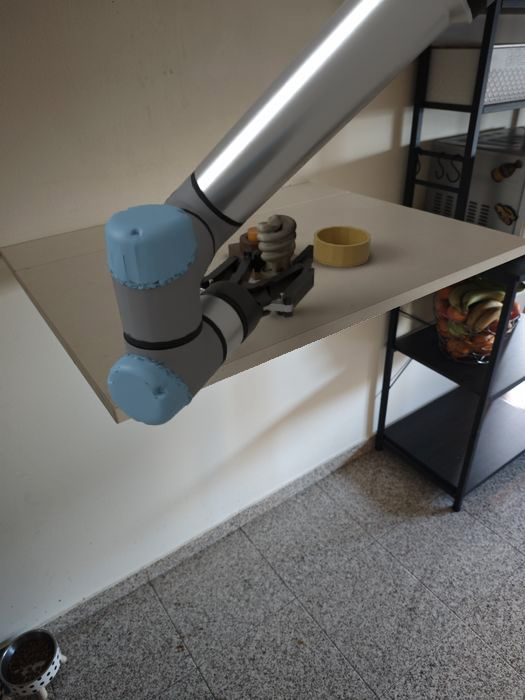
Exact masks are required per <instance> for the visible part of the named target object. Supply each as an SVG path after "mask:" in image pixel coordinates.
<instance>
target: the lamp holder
mask: <svg viewBox="0 0 525 700" xmlns="http://www.w3.org/2000/svg"><path fill="white" fill-rule="evenodd" d="M371 242H372V236H371V234H370V233H369V232H368V231H367V230H365V229H362V228H360V227H356V226H350V225H349V226H346V225H331V226H325V227H322V228H320V229H318V230H316V231H315V232H314V233H313V245H314V253H313V260H315V261H316V262H318V263H319V264H322V265H325V266H328V267H333V268H353V267H358V266H361V265H364V264H365V263H366V262H367V261H369V256H370V252H371Z"/></svg>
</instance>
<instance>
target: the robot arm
mask: <svg viewBox="0 0 525 700" xmlns="http://www.w3.org/2000/svg"><path fill="white" fill-rule="evenodd" d="M495 1H496V0H344V1H343V2H342V3H341V5H340V6H339V7H338V8H336V10H335V11H334V13H332V15H330V17H329V18H328V19H327V20H326V22H325V23H324V24H323V25H322V26H321V27H320V28H319V30H318V31H316V32H315V34H314V35H313V36H312V37H311V38H310V39H309V41H307V42H306V44H305V45H304V46H303V47H302V49H301V50H300V51H299V52H298V53H297V54H296V55H295V56H294V57H293V59H292V60H291V61H290V62H289V63H288V64H287V65H286V66H285V68H284V69H282V71H281V72H279V74H278V75H277V77H276V78H274V80H273V81H272V82H271V83H270V84H269V86H267V88H266V89H265V90H264V91H263V92H262V93H261V95H260V96H259V97H258V98H257V99H256V100H255V101H254V102H253V104H251V106H250V107H249V108H248V109H247V110H246V111H245V112H244V113H243V114H242V116H241V117H240V118H239V119H238V120H237V121H236V123H235V124H234V125H233V126H232V127H231V128H230V129H229V131H227V133H225V135H223V137H222V138H221V139H220V140H219V141H218V142H217V144H216V145H214V147H213V148H212V149H211V151H210V152H208V154H207V155H206V156H205V157H204V158H203V159H202V160H201V161H200V163H199V164H198V165H197V166H196V167H195V169H194V170H193V171H192V172H191V173H190V174H189V175H188V176H187V177H186V178H185V179H184V181H183V182H182V183H181V184H180V185H179V186H178V187H177V188H176V189H175V190H174V191H173V192H172V193H171V194H170V195H169V197H168V198H167V199H166V200H165V201H164V203H163V204H160V203H159V204H158V203H152V204H140V205H135V206H130V207H127V209H126V210H120V211H117V212H115V213H114V214H113V215H111V216H110V217H109V218H108V220H107V221H106V223H105V226H104V237H105V247H106V260H107V263H106V264H107V268H108V271H109V273H110V277H111V281H112V285H113V289H114V294H115V295H114V296H115V300H116V304H117V307H118V308H117V309H118V313H119V317H120V321H121V326H122V332H123V333H122V336H123V341H124V346H125V350H126V351H125V354H124V355H121V356H119V357H118V360H117V361H116V362H115V363H114V364H113V365H112V366H111V367H110V370H109V373H108V376H107V381H106V383H107V389H108V392H109V394H110V397H111V398H112V400H113V402H114V404H115V405H116V406H117V407H118V408H119V409H120V411H122V413H123V414H125V415H126V416H128V417H129V418H130V419H132V420H133V421H135V422H137V423H139V422H140V423H142V424H145V425H147V426H161V425H164V424H166V423H168V422H170V421H171V420H172V419H174V417H176V415H177V414H178V413H180V412H181V411H182V410H183V409H184V408H185V407H187V406H189V405H190V404H191V403H192V400H193V399H194V398H195V396H197V394H198V393H199V392H200V391H201V390H202V388H203V387H204V386H205V385H206V384H207V383H208V382H209V380H210V379H212V377H214V375H215V374H216V373H217V371H218V370H219V369H220V368H221V367H222V365H224V364H225V363H226V362H227V360H229V358H230V357H231V356H232V355H233V354H234V352H236V351H237V349H238V348H239V347H240V345H242V344H243V343H244V342H245V341H246V340H247V338H248V337H250V335H252V333H254V331H255V329H256V328H257V326H258V325H259V323H260V320H261V319H262V318H264V317H267V316H268V315H270V314H271V313H272V312H276V311H280V312H283V314H282V316H283V317H284V318H292V317H293V315H294V309H295V308H296V307H297V306H298V305H299V303H300V302H301V301H302V300H303V299H304V298H305V297H306V296H307V294H308V293H309V292H311V290H312V289H313V288H314V287H315V269H316V268H314V267H312V266H313V263H314V257H313V253H314V244H308V245H307V246H306V247H305V248H304V249H303V250H302V251H301V252H300V253H298V255H297V257H296V258H295V259H294V260H293V261H292V267H290V268H288V269H286V270H284V271H282V272H281V273H279V274H277V275H275V276H273V277H271V278H269V279H268V278H263V279H258V280H256V281H255V282H250V280H251V278H252V277H251V275H252V273H253V269H254V272H256V273H259V272H260V271H261V269H262V267H263V266H265V265H266V261H264V260H263V259H262V258H261V254H262V253H263V252H262V251H261V250H256V251H254V252H253V253H252V251H251V250H245V251H244V257H243V258H239V256H238V255H232V256H229V257H227V259H225V260H224V261H223V262H221V264H219V265H217V266H216V268H215V269H213V270H212V271H211V272H210V273H208V274H207V271H208V269H209V267H210V265H211V264H212V262H213V260H214V259H215V256H216V254H217V252H218V251H219V250H220V249H221V248H222V247H223V245H225V243H226V242H228V241H229V240H230V238H231V237H233V235H235V234H236V233H237V232H238V231H239V230H240V228H241V227H242V226H244V224H245V223H246V222H247V221H248V220H249V219H250V218H251V217H252V216H253V215H254V214H255V213H256V212H257V211H258V210H259V209H261V207H263V206H264V205H265V204H266V202H268V201H269V200H270V199H271V198H272V197H273V196H274V195H275V194H276V193H277V192H278V191H279V190H281V188H282V187H284V186H285V184H286V183H287V182H288V181H290V180H291V179H292V178H293V177H294V176H295V175H296V174H297V173H298V172H299V171H300V170H301V169H302V168H303V167H305V165H306V164H307V163H308V162H309V161H310V160H312V159H313V157H315V156H316V155H317V154H318V153H319V152H320V151H321V150H322V149H323V148H324V147H325V146H326V145H327V144H328V143H330V141H332V139H334V137H335V136H337V135H338V134H339V132H340V131H342V130H343V129H344V128H345V127H346V126H347V125H348V124H349V123H350V122H351V121H352V120H353V119H355V117H356V116H357V115H358V114H359V113H360V112H362V110H364V109H365V107H367V106H368V105H369V104H370V103H371V102H372V101H373V100H374V99H375V98H376V97H377V96H378V95H379V94H380V93H381V92H382V91H383V90H385V88H387V86H389V85H390V84H391V83H392V82H393V81H394V80H395V79H396V78H397V77H398V76H399V75H400V74H401V73H402V72H403V71H404V70H405V69H406V68H407V67H408V66H410V65H411V64H412V62H414V61H415V60H416V59H417V58H418V57H419V56H420V55H421V54H422V53H423V52H424V51H425V50H426V49H427V48H428V47H429V46H431V44H433V42H435V41H436V40H437V39H438V37H440V36H441V35H443V33H444V32H445V31H446V30H447V29H448V28H450V27H453V26H468V25H470V24H471V23H472V22H473V21H474V20H476V18H477V17H478V16H479V15H480V14H481V13H483V12H484V11H485V9H487V8H488V7H489V6H490V5H491V4H493V3H494V2H495ZM206 274H207V275H206ZM279 296H280V297H279ZM277 297H279V298H277ZM275 298H277V299H276V300H274V299H275Z"/></svg>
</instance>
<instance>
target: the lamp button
mask: <svg viewBox="0 0 525 700" xmlns="http://www.w3.org/2000/svg"><path fill="white" fill-rule="evenodd" d="M246 232H247V233H248V240H250V241H259V240H258V238H257V234H258V233H259V232H258V231H257V229H256V226H251V227H248V228H247V230H246Z"/></svg>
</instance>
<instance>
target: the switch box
mask: <svg viewBox="0 0 525 700" xmlns="http://www.w3.org/2000/svg"><path fill="white" fill-rule="evenodd" d="M238 240H239V241H238V242H234V243H228V244H227V247H228V250H227V251H228V256H229V257H230V256H232V255H238V256H239V258H243V257H244V251H245V250H251V251H252V253H253V252H254V251H256V250H260V249H259V243H260V242H261V241H250V240H248V233H247V231H246V232H244V233H242V234H240V236H239V239H238ZM297 256H298V255H297V254H296V253H295V252H294V254H293V256H292V257H291V259H290V264H292V261H293V260H294V259H295V258H296V257H297ZM251 278H252V279H253V280H254V281H258V280H261V271H260V272H259V273H256V272H254V269H253V273H252V275H251Z"/></svg>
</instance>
